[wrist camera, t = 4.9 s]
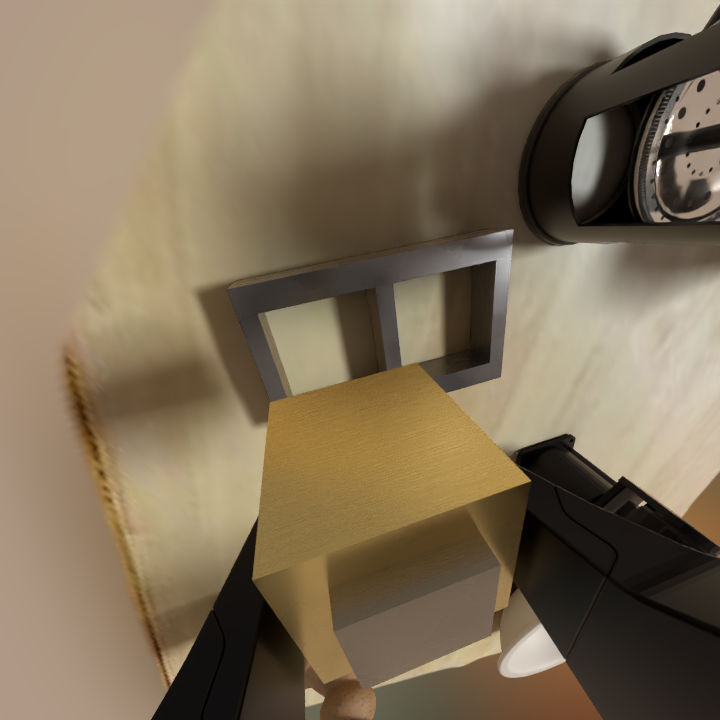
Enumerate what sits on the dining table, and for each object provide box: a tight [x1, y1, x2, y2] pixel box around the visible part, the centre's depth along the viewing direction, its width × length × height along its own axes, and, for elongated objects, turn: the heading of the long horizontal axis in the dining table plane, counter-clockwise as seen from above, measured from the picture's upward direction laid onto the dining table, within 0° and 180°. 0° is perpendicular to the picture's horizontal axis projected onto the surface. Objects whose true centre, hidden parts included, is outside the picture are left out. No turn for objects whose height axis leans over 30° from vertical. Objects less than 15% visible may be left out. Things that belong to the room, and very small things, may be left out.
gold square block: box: [252, 363, 531, 691], centre depth 8 cm, size 5×5×6 cm
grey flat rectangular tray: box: [227, 229, 514, 402], centre depth 18 cm, size 16×10×2 cm, turn 100°
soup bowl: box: [498, 588, 566, 678], centre depth 42 cm, size 24×24×7 cm
